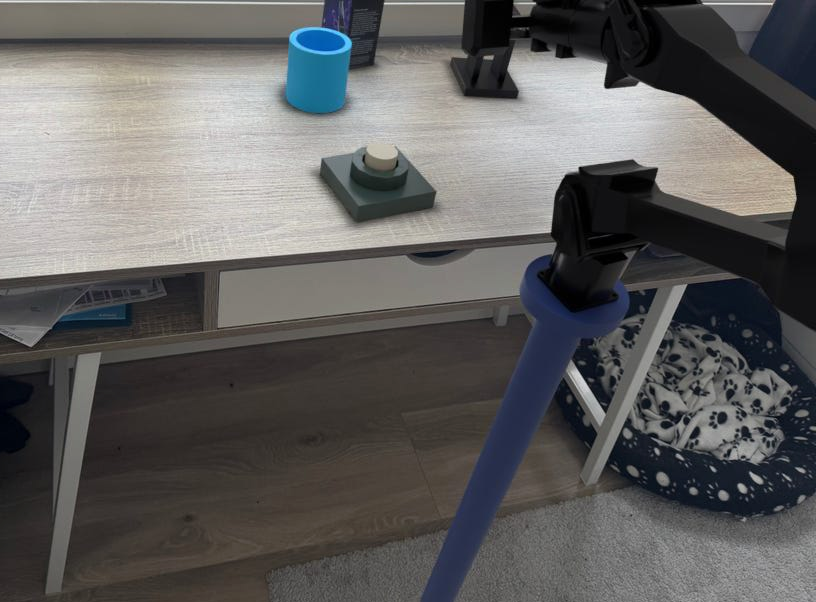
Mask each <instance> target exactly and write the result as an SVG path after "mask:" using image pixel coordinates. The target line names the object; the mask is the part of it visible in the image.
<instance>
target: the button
mask: <svg viewBox="0 0 816 602" xmlns="http://www.w3.org/2000/svg"><path fill="white" fill-rule="evenodd" d="M366 147H367V149H366V155H365V165H366V166H367V167H369V168H371V169H373V170H377V171H384V172H386V171H392V170H394V168H395V167H396V162H397V157H398V150H397V149H396V148H395V147H394V145H392V144H390V143H387V142H383V141H376V142H371V143H369V144H368V145H367V146H366Z"/></svg>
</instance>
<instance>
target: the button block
mask: <svg viewBox="0 0 816 602" xmlns="http://www.w3.org/2000/svg"><path fill="white" fill-rule="evenodd" d="M393 146H394V145H393ZM394 147H395V148H396V149H397V150H398V157H397V162H396V167H395V168H394V170H392V171H386V172H384V171H377V170H373V169H371V168H369V167H367V166H366V165H365V155H366V149H367V146H362V147H360V148H358V149H357V150H355V151H354V152H351V153H344V154H338V155H331V156H325V157H321V160H320V170H319V175H320V176H321V178H322V179H323V180H324V181H325V183H326V184H327V186H328V187H329V188H330V190H331V191H332V192H333V193H334V194H335V196H336V197H337V198H338V199H339V201H340V202H341V204H342V205H343V207H344V208H345V209H346V211H347V212H348V214H349V215H350V216H351V217H352V219H353V220H354V221H355V222H356V223H359V222H365V221H370V220H375V219H381V218H384V217H391V216H394V215H399V214H404V213H405V214H406V213H410V212H415V211H420V210H426V209H430V208H434V204H435V200H436V197H437V190H436V189H435V188H434V187H433V185H431V184H430V182H429V181H428V180H427V179H426V178H425V177H424V175H422V173H421V172H420V171H419V170H418V169H417V167H416V166H414V165H413V164H412V162H410V160H409V159H408V158H407V157H406V156H405V155H404V154H403V153H402V151H401V150H400V149H399V148H398V147H397V146H396V145H395V146H394Z"/></svg>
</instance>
